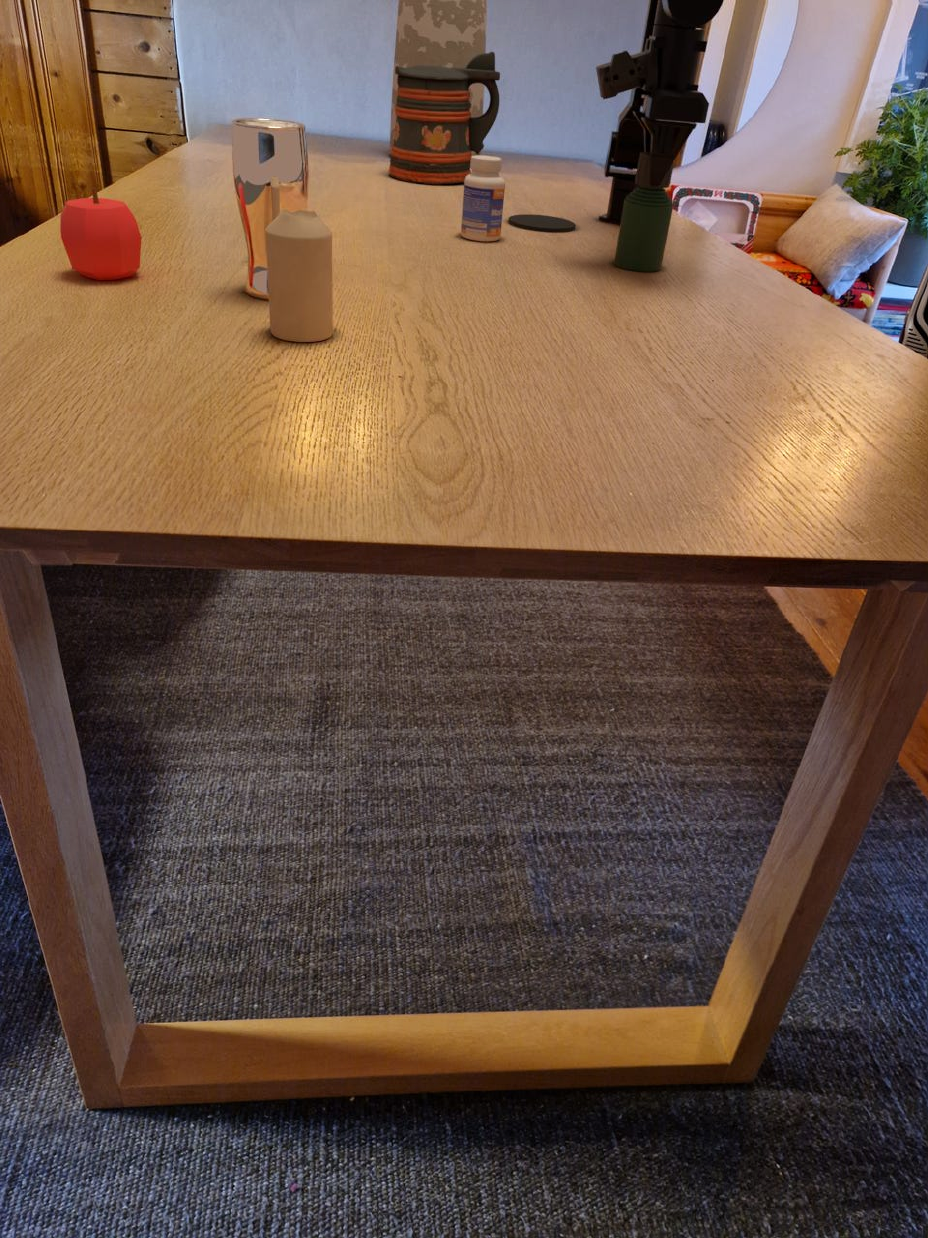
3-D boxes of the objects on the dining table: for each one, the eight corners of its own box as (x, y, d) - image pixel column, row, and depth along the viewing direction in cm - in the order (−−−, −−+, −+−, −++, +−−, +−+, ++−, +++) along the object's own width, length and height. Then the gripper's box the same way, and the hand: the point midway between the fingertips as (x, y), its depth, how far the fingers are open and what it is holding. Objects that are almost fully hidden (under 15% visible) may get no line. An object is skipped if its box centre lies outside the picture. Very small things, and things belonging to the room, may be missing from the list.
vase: (479, 169, 170) (499, -78, 149) (385, 161, 170) (391, -89, 148) (479, 156, 187) (497, -68, 165) (393, 148, 186) (400, -78, 165)
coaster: (525, 214, 134) (526, 211, 134) (585, 225, 130) (585, 222, 130) (496, 223, 126) (497, 219, 126) (559, 235, 123) (559, 231, 123)
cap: (663, 189, 103) (669, 158, 101) (630, 184, 104) (635, 153, 102) (672, 185, 106) (678, 154, 104) (640, 180, 107) (645, 150, 105)
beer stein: (478, 174, 165) (488, 49, 154) (503, 187, 154) (515, 54, 143) (381, 169, 160) (383, 40, 149) (399, 183, 149) (404, 44, 137)
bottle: (623, 256, 114) (640, 154, 107) (667, 265, 112) (687, 161, 105) (607, 265, 109) (624, 159, 102) (652, 274, 107) (672, 166, 100)
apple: (125, 261, 92) (114, 179, 88) (163, 279, 88) (153, 192, 83) (50, 269, 88) (34, 182, 83) (86, 288, 83) (71, 197, 79)
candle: (305, 347, 74) (301, 221, 68) (257, 332, 76) (249, 209, 71) (345, 333, 78) (345, 213, 72) (298, 320, 80) (295, 202, 75)
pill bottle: (496, 244, 115) (504, 162, 109) (456, 238, 115) (462, 157, 110) (503, 236, 119) (510, 157, 114) (464, 231, 120) (470, 152, 114)
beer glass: (252, 303, 83) (241, 126, 75) (233, 284, 88) (220, 116, 80) (321, 299, 86) (318, 128, 78) (298, 281, 91) (293, 119, 83)
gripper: (599, 20, 103) (580, 166, 112) (616, 21, 88) (592, 189, 97) (692, 28, 104) (665, 173, 112) (725, 31, 88) (690, 198, 97)
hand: (651, 182), depth 105 cm, fingers closed on cap, 4 cm apart
